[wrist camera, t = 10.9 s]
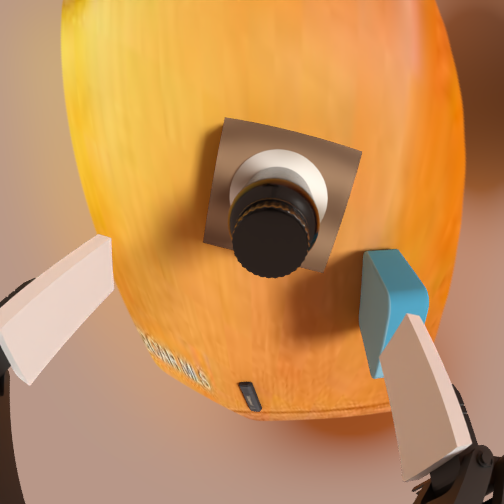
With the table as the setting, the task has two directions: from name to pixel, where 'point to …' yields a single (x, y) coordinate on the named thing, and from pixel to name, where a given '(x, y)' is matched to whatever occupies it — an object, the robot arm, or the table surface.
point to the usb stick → (250, 396)
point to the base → (289, 156)
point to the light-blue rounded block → (387, 301)
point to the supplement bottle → (273, 222)
